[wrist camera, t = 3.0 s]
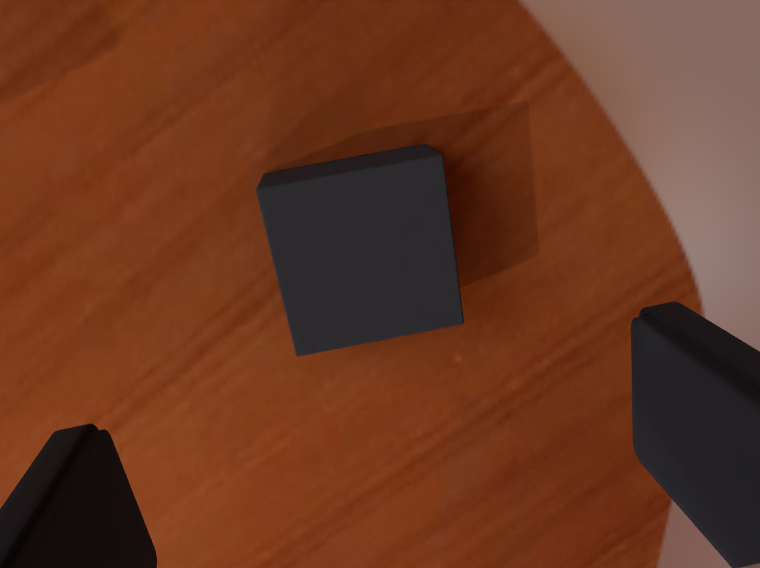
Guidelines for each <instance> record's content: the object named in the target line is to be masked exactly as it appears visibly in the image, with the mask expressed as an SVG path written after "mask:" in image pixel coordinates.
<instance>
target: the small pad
mask: <svg viewBox="0 0 760 568" xmlns="http://www.w3.org/2000/svg"><path fill="white" fill-rule="evenodd" d="M256 193H257V197H258V201H259V205H260V209H261V213H262V217H263V221H264V225H265V230H266V234H267V238H268V242H269V246H270V250H271V254H272V258H273V262H274V267H275V271H276V275H277V279H278V283H279V287H280V291H281V295H282V299H283V303H284V308H285V312H286V316H287V320H288V324H289V328H290V332H291V336H292V340H293V345H294V349H295V353H296V355H297V356H298V357H299V356H304V355H309V354H314V353H319V352H324V351H329V350H334V349H339V348H344V347H349V346H354V345H359V344H364V343H369V342H374V341H380V340H385V339H390V338H395V337H400V336H405V335H410V334H415V333H420V332H425V331H430V330H435V329H440V328H445V327H450V326H455V325H460V324H463V323H464V318H463V310H462V303H461V295H460V287H459V279H458V271H457V263H456V255H455V247H454V239H453V231H452V224H451V216H450V208H449V200H448V192H447V184H446V176H445V168H444V160H443V155H442V154H440V153H439V152H437V151H436V150H434V149H433V148H431V147H430V146H428V145H427V144H421V145H416V146H410V147H405V148H399V149H394V150H388V151H383V152H378V153H372V154H367V155H361V156H356V157H351V158H345V159H340V160H334V161H329V162H323V163H318V164H313V165H307V166H302V167H296V168H291V169H285V170H280V171H275V172H269V173H265V174H264V175H263V177H262V179H261V181H260V183H259V185H258V187H257V189H256Z"/></svg>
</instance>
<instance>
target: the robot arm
mask: <svg viewBox="0 0 760 568" xmlns="http://www.w3.org/2000/svg"><path fill="white" fill-rule="evenodd" d="M631 352H632V412H633V446H634V450H635V453H636V455H637V457H638V459H639V461H640V462H641V464H642V465H643V466H644V467H645V468H646V469H647V471H648V472H649V473H650V474H651V475H652V476H653V477H654V479H655V480H656V481H657V482H658V483H659V484H660V486H661V487H662V488H663V489H664V490H665V491H666V492H667V494H668V495H669V496H670V497H671V498H672V499H673V500H674V502H676V504H677V505H678V506H679V507H680V509H681V510H682V511H683V512H684V513H685V514H686V515H687V516H688V518H689V519H690V520H691V521H692V522H693V523H694V525H695V526H696V527H697V528H698V529H699V530H700V532H702V534H703V535H704V536H705V537H706V538H707V540H708V541H709V542H710V543H711V544H712V545H713V546H714V548H715V549H716V550H717V551H718V552H719V553H720V555H721V556H722V557H723V558H724V559H725V560H726V561H727V562H728V564H729V565H730V566H731V567H732V568H760V352H759V351H758V350H756V349H754V348H753V347H751V346H749V345H748V344H746V343H745V342H743V341H741V340H740V339H738V338H736V337H735V336H733V335H731V334H730V333H728V332H726V331H725V330H723V329H721V328H720V327H718V326H716V325H715V324H713V323H712V322H710V321H708V320H707V319H705V318H703V317H702V316H700V315H698V314H697V313H695V312H694V311H692V310H690V309H689V308H687V307H685V306H684V305H682V304H680V303H678V302H669V303H664V304H660V305H655V306H650V307H645V308H643V309H642V310H641V311H640V313H639V317H636V318H634V319H633V320H632V323H631ZM0 568H157V557H156V551H155V548H154V545H153V543H152V540H151V538H150V535H149V533H148V530H147V527H146V525H145V522H144V520H143V517H142V515H141V512H140V509H139V507H138V504H137V502H136V499H135V497H134V494H133V492H132V489H131V486H130V484H129V481H128V479H127V476H126V474H125V471H124V469H123V466H122V463H121V461H120V458H119V456H118V453H117V451H116V448H115V446H114V443H113V440H112V438H111V436H110V434H109V433H108V431H107V430H98V428H97V427H96V426H95V425H93V424H87V425H82V426H77V427H73V428H68V429H63V430H58V431H55V432H54V433H53V434H52V435H51V437H50V438H49V440H48V441H47V443H46V444H45V445H44V447H43V448H42V450H41V451H40V453H39V454H38V456H37V457H36V458H35V460H34V461H33V463H32V464H31V466H30V467H29V469H28V470H27V471H26V473H25V474H24V476H23V477H22V479H21V480H20V482H19V483H18V484H17V486H16V487H15V489H14V490H13V492H12V493H11V495H10V496H9V497H8V499H7V500H6V502H5V503H4V505H3V506H2V508H1V509H0Z"/></svg>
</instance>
